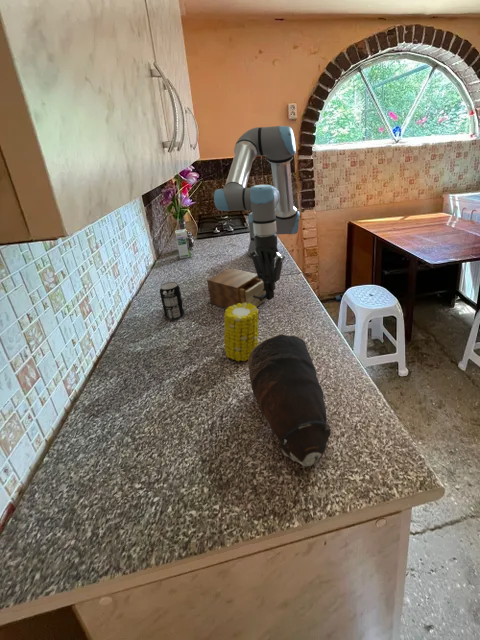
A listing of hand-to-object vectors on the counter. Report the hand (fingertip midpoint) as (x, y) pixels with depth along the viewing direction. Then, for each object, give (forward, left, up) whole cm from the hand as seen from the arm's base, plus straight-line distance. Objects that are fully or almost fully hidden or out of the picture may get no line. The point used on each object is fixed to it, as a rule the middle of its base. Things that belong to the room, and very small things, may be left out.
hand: (270, 298), depth 109 cm
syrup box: (-25, -75, -5) cm, 79 cm away
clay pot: (+36, +31, -5) cm, 48 cm away
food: (+23, +6, -5) cm, 24 cm away
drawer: (0, -10, -4) cm, 10 cm away
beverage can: (+19, -29, -5) cm, 35 cm away
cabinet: (0, -17, -5) cm, 17 cm away
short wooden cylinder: (0, -12, -3) cm, 12 cm away
